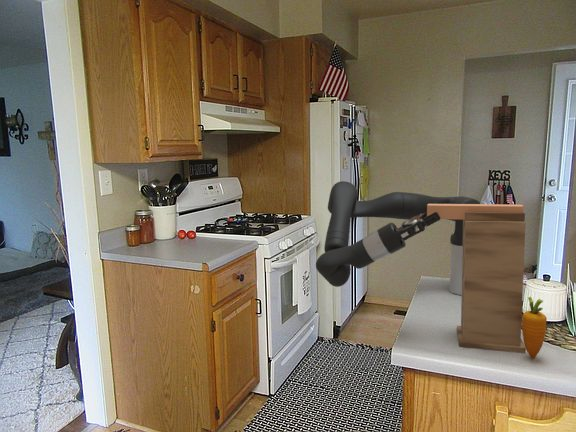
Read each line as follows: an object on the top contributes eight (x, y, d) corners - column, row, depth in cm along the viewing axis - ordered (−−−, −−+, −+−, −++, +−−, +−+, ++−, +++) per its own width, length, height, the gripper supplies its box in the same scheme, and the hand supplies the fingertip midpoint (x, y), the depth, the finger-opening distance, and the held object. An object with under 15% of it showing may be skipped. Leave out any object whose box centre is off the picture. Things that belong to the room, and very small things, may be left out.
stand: (456, 329, 119) (459, 208, 114) (517, 334, 114) (522, 208, 109) (459, 346, 109) (461, 214, 104) (525, 353, 104) (531, 214, 99)
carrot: (519, 352, 104) (521, 293, 102) (542, 355, 103) (545, 294, 100) (522, 361, 100) (524, 299, 98) (546, 364, 98) (549, 301, 96)
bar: (428, 216, 114) (428, 203, 114) (521, 218, 106) (521, 204, 105) (426, 218, 111) (427, 205, 111) (522, 220, 103) (523, 206, 102)
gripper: (373, 235, 110) (431, 203, 104) (379, 225, 123) (431, 197, 118) (388, 260, 109) (447, 230, 104) (393, 248, 123) (445, 220, 117)
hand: (438, 212), depth 111 cm, fingers open, 8 cm apart
